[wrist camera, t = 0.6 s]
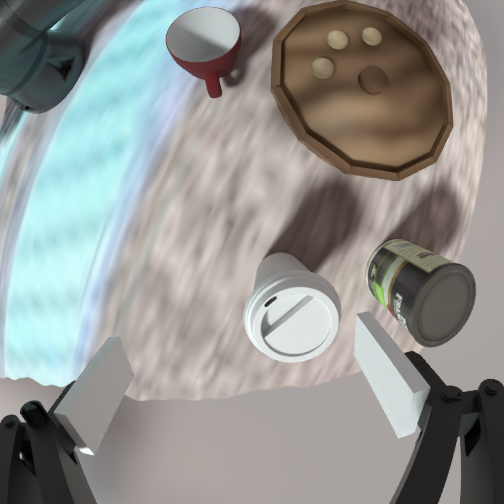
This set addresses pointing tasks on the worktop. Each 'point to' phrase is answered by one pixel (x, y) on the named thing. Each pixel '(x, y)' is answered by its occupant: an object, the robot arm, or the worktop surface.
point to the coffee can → (421, 290)
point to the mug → (205, 44)
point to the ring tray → (362, 91)
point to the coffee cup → (291, 310)
